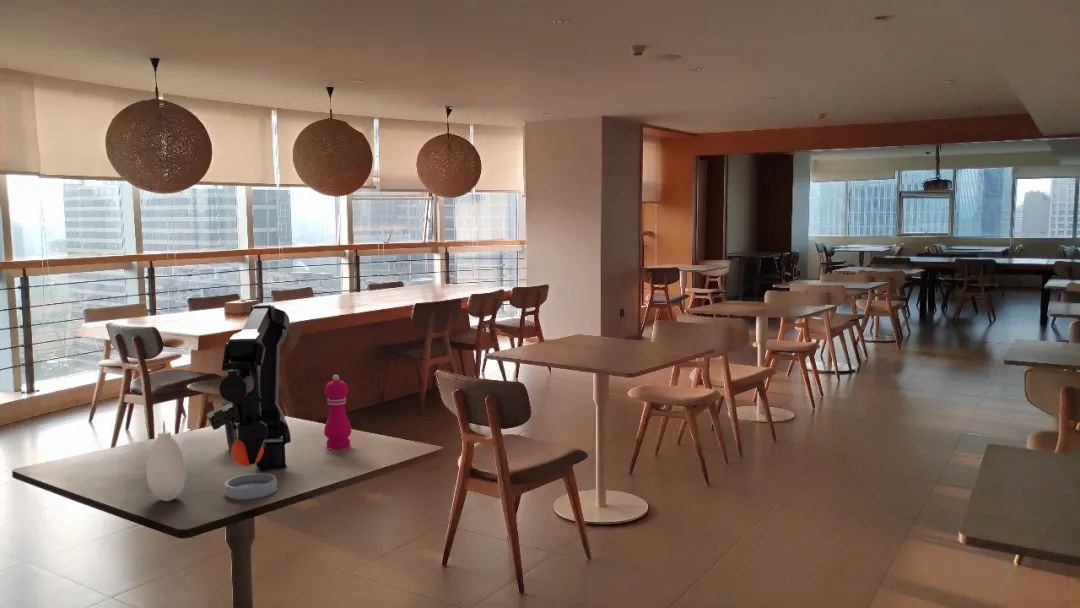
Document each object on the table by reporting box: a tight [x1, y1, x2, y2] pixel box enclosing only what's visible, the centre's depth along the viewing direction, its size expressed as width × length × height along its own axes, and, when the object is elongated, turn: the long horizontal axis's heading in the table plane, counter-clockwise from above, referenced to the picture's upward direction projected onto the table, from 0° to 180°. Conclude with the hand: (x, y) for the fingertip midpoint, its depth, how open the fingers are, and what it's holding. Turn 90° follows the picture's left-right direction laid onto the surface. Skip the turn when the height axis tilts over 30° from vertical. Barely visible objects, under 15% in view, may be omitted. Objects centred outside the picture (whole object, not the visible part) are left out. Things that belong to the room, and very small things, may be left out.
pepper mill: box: [323, 374, 352, 450], centre depth 223 cm, size 7×7×20 cm
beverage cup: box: [221, 398, 238, 452], centre depth 222 cm, size 7×7×20 cm
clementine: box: [230, 439, 265, 467], centre depth 186 cm, size 8×7×7 cm
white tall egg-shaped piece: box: [146, 420, 187, 502], centre depth 181 cm, size 8×8×18 cm
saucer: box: [224, 472, 278, 501], centre depth 187 cm, size 11×11×3 cm
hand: (250, 459), depth 186 cm, fingers closed on clementine, 7 cm apart
